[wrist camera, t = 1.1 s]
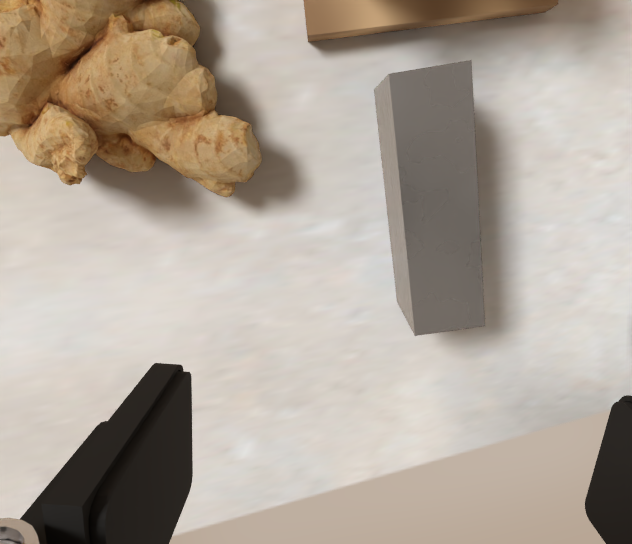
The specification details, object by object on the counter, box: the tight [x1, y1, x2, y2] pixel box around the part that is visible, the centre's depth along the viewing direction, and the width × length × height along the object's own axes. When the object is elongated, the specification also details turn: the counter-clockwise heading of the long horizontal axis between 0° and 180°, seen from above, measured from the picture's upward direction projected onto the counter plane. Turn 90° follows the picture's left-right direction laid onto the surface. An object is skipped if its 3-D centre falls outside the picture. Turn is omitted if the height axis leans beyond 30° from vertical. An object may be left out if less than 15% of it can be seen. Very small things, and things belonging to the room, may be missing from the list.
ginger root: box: [0, 0, 262, 197], centre depth 24 cm, size 16×16×8 cm
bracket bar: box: [374, 60, 485, 336], centre depth 26 cm, size 4×14×6 cm, turn 9°
